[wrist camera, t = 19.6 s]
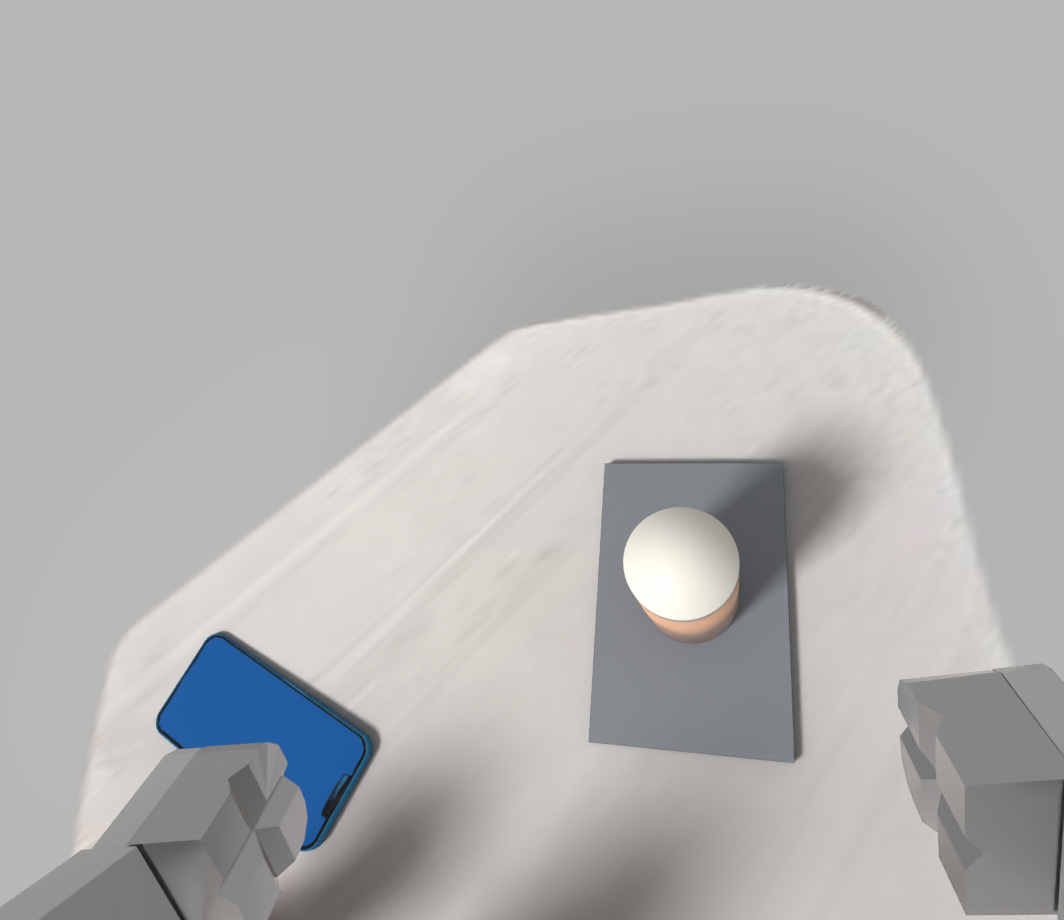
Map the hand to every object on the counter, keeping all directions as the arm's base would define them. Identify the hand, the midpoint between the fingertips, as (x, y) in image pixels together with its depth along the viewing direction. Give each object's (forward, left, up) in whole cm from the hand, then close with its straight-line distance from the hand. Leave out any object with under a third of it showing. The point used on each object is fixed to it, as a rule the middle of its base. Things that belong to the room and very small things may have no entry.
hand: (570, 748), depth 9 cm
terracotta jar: (+8, 0, -33) cm, 34 cm away
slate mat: (+8, 0, -33) cm, 34 cm away
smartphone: (-2, +27, -34) cm, 43 cm away
